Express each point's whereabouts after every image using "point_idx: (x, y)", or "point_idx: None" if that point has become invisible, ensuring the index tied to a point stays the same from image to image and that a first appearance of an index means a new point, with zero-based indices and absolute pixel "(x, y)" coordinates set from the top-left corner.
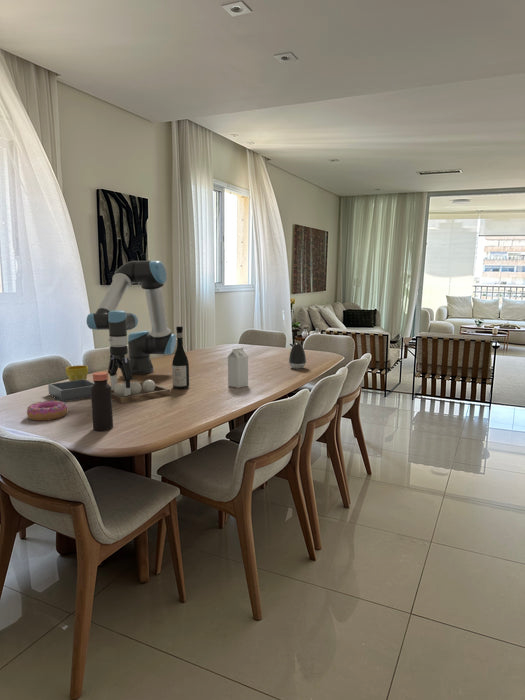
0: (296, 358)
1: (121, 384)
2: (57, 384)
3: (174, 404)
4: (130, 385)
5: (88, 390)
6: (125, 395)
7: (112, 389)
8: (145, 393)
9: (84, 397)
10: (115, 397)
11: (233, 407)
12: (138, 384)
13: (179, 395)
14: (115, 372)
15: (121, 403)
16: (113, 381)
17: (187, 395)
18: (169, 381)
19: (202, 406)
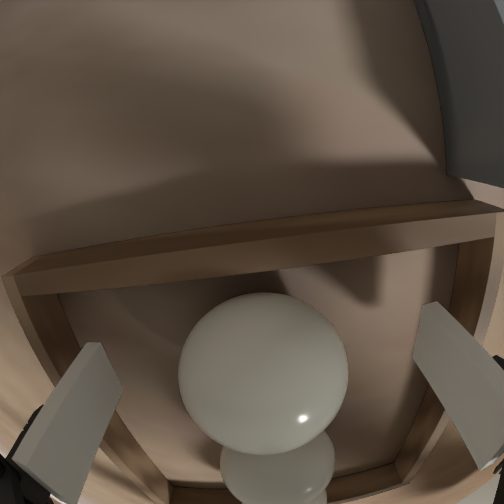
0: None
1: (245, 445)
2: None
3: (14, 421)
4: (266, 471)
5: (477, 49)
6: (89, 347)
7: (423, 315)
8: (104, 446)
9: (425, 24)
10: (105, 253)
11: (3, 456)
12: (240, 500)
13: (144, 493)
14: (500, 498)
15: (32, 258)
16: (467, 388)
17: (135, 498)
18: (397, 499)
19: (2, 439)
